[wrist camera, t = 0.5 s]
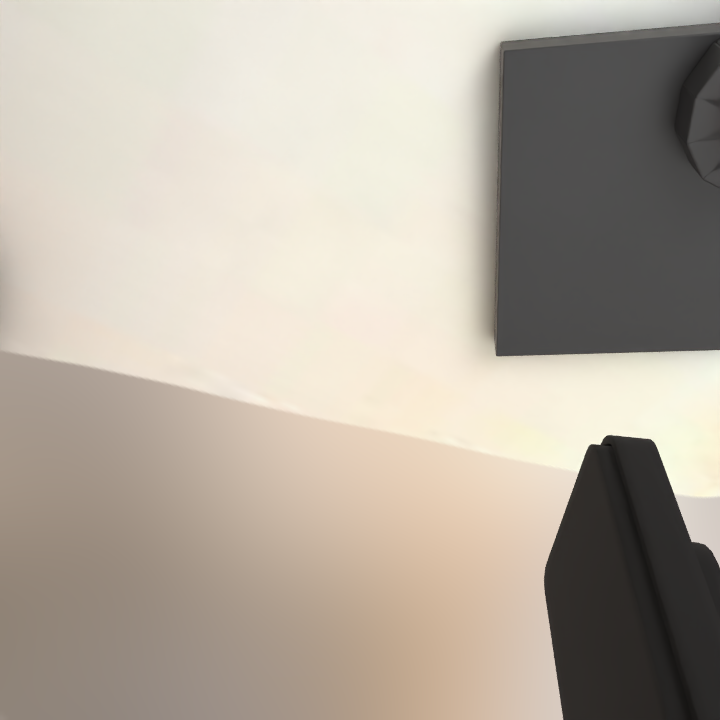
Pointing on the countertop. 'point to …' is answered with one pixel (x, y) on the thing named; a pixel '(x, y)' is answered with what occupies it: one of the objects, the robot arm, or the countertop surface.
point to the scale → (609, 193)
